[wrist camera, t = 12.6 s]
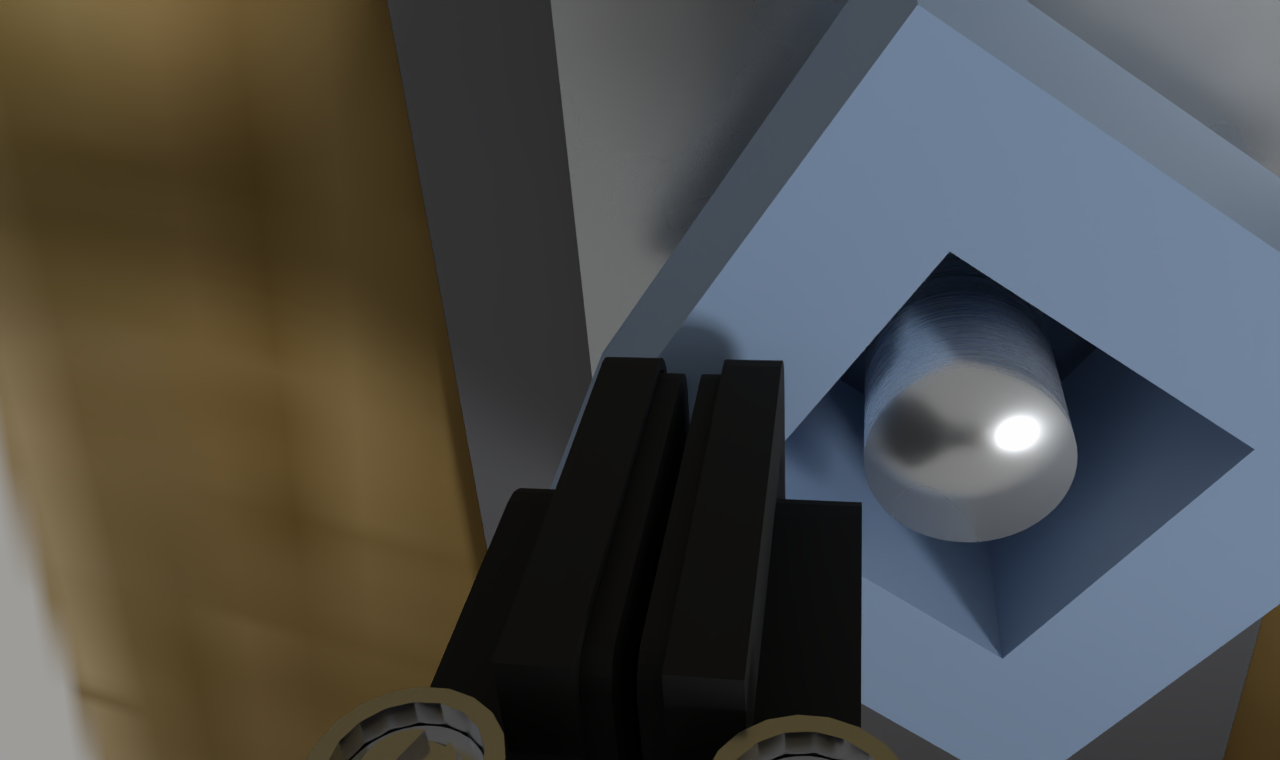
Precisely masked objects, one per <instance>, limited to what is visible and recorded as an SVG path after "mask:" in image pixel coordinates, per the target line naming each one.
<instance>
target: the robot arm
mask: <svg viewBox="0 0 1280 760" xmlns="http://www.w3.org/2000/svg"><path fill="white" fill-rule="evenodd" d="M861 636H862V502H844V501H820V500H796V499H785V388H784V363H783V360H737V359H726V360H724V364H723V368H722V373H721V374H702V375H701V378H700V382H699V386H698V391H697V395H696V400H695V404H694V408H693V413H692V417H691V422H690V420H689V403H688V388H687V379H686V375H685V374H684V373H667V369H666V364H665V361H664V359H663V358H642V357H605V358H604V360H603V362H602V364H601V367H600V370H599V372H598V375H597V378H596V381H595V383H594V386H593V389H592V391H591V394H590V397H589V400H588V402H587V405H586V408H585V410H584V413H583V416H582V419H581V421H580V424H579V427H578V429H577V432H576V435H575V437H574V440H573V443H572V446H571V448H570V451H569V454H568V456H567V459H566V462H565V465H564V467H563V470H562V473H561V475H560V478H559V481H558V484H557V486H556V489H535V488H519V489H517V490H516V491H514V492H513V494H512V496H511V497H510V499H509V501H508V503H507V505H506V507H505V510H504V512H503V515H502V517H501V519H500V522H499V524H498V527H497V529H496V531H495V534H494V536H493V538H492V541H491V543H490V546H489V548H488V550H487V553H486V555H485V557H484V560H483V562H482V565H481V567H480V569H479V572H478V574H477V577H476V579H475V581H474V584H473V586H472V588H471V591H470V593H469V596H468V598H467V600H466V603H465V605H464V608H463V610H462V612H461V615H460V617H459V619H458V622H457V624H456V627H455V629H454V631H453V634H452V636H451V639H450V641H449V643H448V646H447V648H446V650H445V653H444V655H443V658H442V660H441V662H440V665H439V667H438V669H437V672H436V674H435V677H434V679H433V681H432V684H431V686H430V687H417V688H411V689H405V690H399V691H393V692H390V693H387V694H385V695H382V696H380V697H377V698H375V699H372V700H370V701H367V702H365V703H362V704H361V705H359V706H358V707H357V708H355V709H354V710H352V711H351V712H349V713H348V714H346V715H345V716H343V717H342V718H340V719H339V720H337V721H336V722H335V724H334V725H333V726H332V727H331V728H330V729H329V730H328V731H327V732H326V734H325V735H324V736H323V737H322V738H321V739H320V740H319V741H318V742H317V744H316V745H315V747H314V748H313V749H312V751H311V752H310V754H309V755H308V757H307V758H306V760H899V759H898V758H897V756H896V755H895V754H894V753H893V752H892V751H891V750H890V748H889V747H888V746H887V745H886V744H885V743H883V742H882V741H880V740H878V739H877V738H875V737H874V736H872V735H871V734H869V733H868V732H866V731H864V730H863V729H861Z"/></svg>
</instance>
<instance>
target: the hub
mask: <svg viewBox="0 0 1280 760" xmlns="http://www.w3.org/2000/svg"><path fill="white" fill-rule="evenodd" d="M1026 1H1027V2H1029V3H1030V4H1032V5H1033V6H1035V7H1036V8H1037V9H1039V10H1040V11H1042V12H1043V13H1045V14H1046V15H1047V16H1049V17H1050V18H1052V19H1053V20H1055V21H1056V22H1058V23H1059V24H1060V25H1062V26H1063V27H1065V28H1066V29H1068V30H1069V31H1070V32H1072V33H1073V34H1075V35H1076V36H1078V37H1079V38H1080V39H1082V40H1083V41H1085V42H1086V43H1088V44H1089V45H1090V46H1092V47H1093V48H1095V49H1096V50H1098V51H1099V52H1100V53H1102V54H1103V55H1105V56H1106V57H1108V58H1109V59H1111V60H1112V61H1113V62H1115V63H1116V64H1118V65H1119V66H1121V67H1122V68H1123V69H1125V70H1126V71H1128V72H1129V73H1131V74H1132V75H1133V76H1135V77H1136V78H1138V79H1139V80H1141V81H1142V82H1143V83H1145V84H1146V85H1148V86H1149V87H1151V88H1152V89H1154V90H1155V91H1156V92H1158V93H1159V94H1161V95H1162V96H1164V97H1165V98H1166V99H1168V100H1169V101H1171V102H1172V103H1174V104H1175V105H1176V106H1178V107H1179V108H1181V109H1182V110H1184V111H1185V112H1186V113H1188V114H1189V115H1191V116H1192V117H1194V118H1195V119H1196V120H1198V121H1199V122H1201V123H1202V124H1204V125H1205V126H1207V127H1208V128H1209V129H1211V130H1212V131H1214V132H1215V133H1217V134H1218V135H1219V136H1221V137H1222V138H1224V139H1225V140H1227V141H1228V142H1229V143H1231V144H1232V145H1234V146H1235V147H1237V148H1238V149H1239V150H1241V151H1242V152H1244V153H1245V154H1247V155H1248V156H1250V157H1251V158H1252V159H1254V160H1255V161H1257V162H1258V163H1260V164H1261V165H1262V166H1264V167H1265V168H1267V169H1268V170H1270V171H1271V172H1272V173H1274V174H1275V175H1277V176H1278V177H1280V0H1026ZM847 2H848V0H551V9H552V18H553V27H554V36H555V45H556V54H557V63H558V72H559V81H560V90H561V99H562V109H563V118H564V127H565V136H566V145H567V154H568V163H569V172H570V181H571V190H572V199H573V208H574V217H575V226H576V236H577V245H578V254H579V263H580V272H581V281H582V290H583V299H584V308H585V317H586V326H587V335H588V344H589V353H590V363H591V372H592V378H593V376H594V373H595V371H596V368H597V365H598V363H599V360H600V358H601V355H602V353H603V351H604V350H605V348H606V347H607V345H608V344H609V343H610V341H611V340H612V338H613V337H614V335H615V334H616V333H617V331H618V330H619V328H620V327H621V325H622V324H623V323H624V321H625V320H626V318H627V317H628V315H629V314H630V313H631V311H632V310H633V308H634V307H635V305H636V304H637V303H638V301H639V300H640V298H641V297H642V295H643V294H644V292H645V291H646V290H647V288H648V287H649V285H650V284H651V282H652V281H653V280H654V278H655V277H656V275H657V274H658V272H659V271H660V270H661V268H662V267H663V265H664V264H665V262H666V261H667V260H668V258H669V257H670V255H671V254H672V252H673V251H674V250H675V248H676V247H677V245H678V244H679V242H680V241H681V239H682V238H683V237H684V235H685V234H686V232H687V231H688V229H689V228H690V227H691V225H692V224H693V222H694V221H695V219H696V218H697V217H698V215H699V214H700V212H701V211H702V209H703V208H704V207H705V205H706V204H707V202H708V201H709V199H710V198H711V197H712V195H713V194H714V192H715V191H716V189H717V188H718V187H719V185H720V184H721V182H722V181H723V179H724V178H725V176H726V175H727V174H728V172H729V171H730V169H731V168H732V166H733V165H734V164H735V162H736V161H737V159H738V158H739V156H740V155H741V154H742V152H743V151H744V149H745V148H746V146H747V145H748V144H749V142H750V141H751V139H752V138H753V136H754V135H755V134H756V132H757V131H758V129H759V128H760V126H761V125H762V123H763V122H764V121H765V119H766V118H767V116H768V115H769V113H770V112H771V111H772V109H773V108H774V106H775V105H776V103H777V102H778V101H779V99H780V98H781V96H782V95H783V93H784V92H785V91H786V89H787V88H788V86H789V85H790V83H791V82H792V81H793V79H794V78H795V76H796V75H797V73H798V72H799V70H800V69H801V68H802V66H803V65H804V63H805V62H806V60H807V59H808V58H809V56H810V55H811V53H812V52H813V50H814V49H815V48H816V46H817V45H818V43H819V42H820V40H821V39H822V38H823V36H824V35H825V33H826V32H827V30H828V29H829V28H830V26H831V25H832V23H833V22H834V20H835V19H836V17H837V16H838V15H839V13H840V12H841V10H842V9H843V7H844V6H845V5H846V3H847ZM1096 348H1097V347H1096V346H1095V345H1093V344H1092V343H1090V342H1088V341H1087V340H1085V339H1084V338H1082V337H1081V336H1079V335H1078V334H1076V333H1075V332H1073V331H1071V330H1070V329H1068V328H1067V327H1065V326H1064V325H1062V324H1061V323H1059V322H1058V321H1056V320H1055V319H1053V318H1051V317H1050V316H1048V315H1047V314H1045V313H1044V312H1042V311H1041V310H1039V309H1038V308H1036V307H1035V306H1033V305H1031V304H1030V303H1028V302H1027V301H1025V300H1024V299H1022V298H1021V297H1019V296H1018V295H1016V294H1014V293H1013V292H1011V291H1010V290H1008V289H1007V288H1005V287H1004V286H1002V285H1001V284H999V283H998V282H996V281H994V280H993V279H991V278H990V277H988V276H987V275H985V274H984V273H982V272H981V271H979V270H978V269H976V268H974V267H973V266H971V265H970V264H968V263H967V262H965V261H964V260H962V259H961V258H959V257H958V256H956V255H954V254H953V253H951V252H949V253H948V254H947V255H946V256H945V258H944V259H943V260H942V261H941V262H940V263H939V264H938V266H937V267H936V268H935V269H934V270H933V271H932V272H931V274H930V275H929V276H928V277H927V278H926V279H925V281H924V282H923V283H922V284H921V285H920V286H919V287H918V289H917V290H916V291H915V292H914V293H913V294H912V296H911V297H910V298H909V299H908V300H907V301H906V302H905V304H904V305H903V306H902V307H901V308H900V309H899V310H898V312H897V313H896V314H895V315H894V316H893V317H892V319H891V320H890V321H889V322H888V323H887V324H886V325H885V327H884V328H883V329H882V330H881V331H880V332H879V333H878V335H877V336H876V337H875V338H874V339H873V340H872V342H871V343H870V344H869V345H868V346H867V347H866V348H865V350H864V351H863V352H862V353H861V354H860V355H859V356H858V358H857V359H856V360H855V361H854V362H853V363H852V365H851V366H850V367H849V368H848V369H847V370H846V371H845V373H844V374H843V375H842V376H841V377H840V378H839V380H841V381H843V382H844V383H846V384H847V385H849V386H851V387H852V388H854V389H856V390H857V391H859V392H860V393H862V394H864V470H865V474H866V479H867V482H868V484H869V487H870V490H871V491H872V493H873V495H874V497H875V498H876V500H877V501H878V502H879V504H880V505H881V506H882V507H883V509H884V510H885V511H886V512H888V513H889V514H890V515H891V516H892V517H893V518H894V519H896V520H897V521H898V522H900V523H901V524H903V525H905V526H906V527H908V528H910V529H912V530H914V531H916V532H918V533H921V534H923V535H926V536H930V537H933V538H936V539H941V540H946V541H954V542H982V541H990V540H995V539H1000V538H1004V537H1007V536H1010V535H1013V534H1016V533H1018V532H1021V531H1023V530H1025V529H1027V528H1029V527H1031V526H1032V525H1034V524H1036V523H1038V522H1039V521H1040V520H1042V519H1043V518H1044V517H1046V516H1047V515H1048V514H1049V513H1050V512H1051V511H1053V510H1054V509H1055V508H1056V507H1057V505H1058V504H1059V503H1060V502H1061V501H1062V499H1063V498H1064V497H1065V495H1066V493H1067V492H1068V490H1069V488H1070V486H1071V484H1072V481H1073V479H1074V476H1075V472H1076V468H1077V456H1078V454H1077V445H1076V440H1075V436H1074V433H1073V429H1072V425H1071V421H1070V417H1069V413H1068V409H1067V405H1066V401H1065V398H1064V394H1063V390H1062V386H1061V382H1062V381H1063V380H1064V379H1065V378H1066V377H1067V376H1068V375H1069V374H1070V373H1071V372H1072V371H1073V370H1075V369H1076V368H1077V367H1078V366H1079V365H1080V364H1081V363H1082V362H1083V361H1084V360H1085V359H1086V358H1087V357H1088V356H1089V355H1090V354H1091V353H1092V352H1093V351H1094V350H1095V349H1096Z"/></svg>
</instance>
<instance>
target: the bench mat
mask: <svg viewBox="0 0 1280 760" xmlns="http://www.w3.org/2000/svg"><path fill="white" fill-rule="evenodd" d="M387 2H388V7H389V13H390V18H391V24H392V29H393V35H394V40H395V46H396V51H397V56H398V62H399V67H400V73H401V78H402V84H403V89H404V95H405V100H406V106H407V111H408V117H409V122H410V128H411V133H412V139H413V144H414V150H415V155H416V161H417V166H418V172H419V177H420V183H421V188H422V194H423V199H424V205H425V210H426V216H427V221H428V227H429V232H430V238H431V243H432V249H433V254H434V260H435V265H436V271H437V276H438V282H439V287H440V293H441V298H442V304H443V309H444V315H445V320H446V325H447V331H448V336H449V342H450V347H451V353H452V358H453V364H454V369H455V375H456V380H457V386H458V391H459V397H460V402H461V408H462V413H463V419H464V424H465V430H466V435H467V441H468V446H469V452H470V457H471V463H472V468H473V474H474V479H475V485H476V490H477V496H478V501H479V507H480V512H481V518H482V523H483V529H484V534H485V540H486V545H487V550H488V548H489V546H490V543H491V541H492V538H493V536H494V534H495V531H496V529H497V527H498V524H499V522H500V519H501V517H502V515H503V512H504V510H505V507H506V505H507V503H508V501H509V499H510V497H511V496H512V494H513V492H514V491H516V490H517V489H519V488H535V489H550V488H551V485H552V483H553V480H554V477H555V475H556V472H557V470H558V467H559V464H560V462H561V459H562V457H563V454H564V451H565V449H566V446H567V444H568V441H569V438H570V436H571V433H572V431H573V428H574V425H575V423H576V420H577V418H578V415H579V412H580V410H581V407H582V404H583V402H584V399H585V397H586V394H587V391H588V389H589V386H590V384H591V381H592V372H591V363H590V353H589V344H588V335H587V326H586V317H585V308H584V299H583V290H582V281H581V272H580V263H579V254H578V245H577V236H576V226H575V217H574V208H573V199H572V190H571V181H570V172H569V163H568V154H567V145H566V136H565V127H564V118H563V109H562V99H561V90H560V81H559V72H558V63H557V54H556V45H555V36H554V27H553V18H552V9H551V0H387ZM1262 618H1263V617H1261V618H1260V619H1258V620H1257V621H1256V622H1254V623H1253V624H1252V625H1250V626H1249V627H1247V628H1246V629H1245V630H1243V631H1242V632H1241V633H1239V634H1238V635H1236V636H1235V637H1234V638H1232V639H1231V640H1230V641H1228V642H1227V643H1226V644H1224V645H1223V646H1221V647H1220V648H1219V649H1217V650H1216V651H1215V652H1213V653H1212V654H1210V655H1209V656H1208V657H1206V658H1205V659H1204V660H1202V661H1201V662H1199V663H1198V664H1197V665H1195V666H1194V667H1193V668H1191V669H1190V670H1188V671H1187V672H1186V673H1184V674H1183V675H1182V676H1180V677H1179V678H1178V679H1176V680H1175V681H1173V682H1172V683H1171V684H1169V685H1168V686H1167V687H1165V688H1164V689H1162V690H1161V691H1160V692H1158V693H1157V694H1156V695H1154V696H1153V697H1151V698H1150V699H1149V700H1147V701H1146V702H1145V703H1143V704H1142V705H1140V706H1139V707H1138V708H1136V709H1135V710H1134V711H1132V712H1131V713H1129V714H1128V715H1127V716H1125V717H1124V718H1123V719H1121V720H1120V721H1119V722H1117V723H1116V724H1114V725H1113V726H1112V727H1110V728H1109V729H1108V730H1106V731H1105V732H1103V733H1102V734H1101V735H1099V736H1098V737H1097V738H1095V739H1094V740H1092V741H1091V742H1090V743H1088V744H1087V745H1086V746H1084V747H1083V748H1081V749H1080V750H1079V751H1077V752H1076V753H1075V754H1073V755H1072V756H1071V757H1069V758H1068V759H1066V760H1223V758H1224V754H1225V751H1226V747H1227V743H1228V740H1229V736H1230V733H1231V729H1232V726H1233V722H1234V718H1235V715H1236V711H1237V708H1238V704H1239V700H1240V697H1241V693H1242V690H1243V686H1244V683H1245V679H1246V675H1247V672H1248V668H1249V665H1250V661H1251V658H1252V654H1253V650H1254V647H1255V643H1256V640H1257V636H1258V632H1259V629H1260V625H1261V622H1262ZM861 729H863V730H864V731H866V732H868V733H869V734H871V735H872V736H874V737H875V738H877V739H878V740H880V741H882V742H883V743H885V744H886V745H887V746H888V747H889V748H890V750H891V751H892V752H893V753H894V754H895V755H896V756H897V758H898V759H899V760H960V759H958V758H957V757H955V756H953V755H951V754H950V753H948V752H946V751H944V750H943V749H941V748H939V747H937V746H936V745H934V744H932V743H930V742H929V741H927V740H925V739H923V738H921V737H920V736H918V735H916V734H914V733H913V732H911V731H909V730H907V729H906V728H904V727H902V726H900V725H899V724H897V723H895V722H893V721H892V720H890V719H888V718H886V717H885V716H883V715H881V714H879V713H878V712H876V711H874V710H872V709H871V708H869V707H867V706H865V705H863V704H862V703H861Z"/></svg>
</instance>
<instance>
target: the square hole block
mask: <svg viewBox="0 0 1280 760" xmlns="http://www.w3.org/2000/svg"><path fill="white" fill-rule="evenodd" d="M949 252H951V253H953V254H954V255H956V256H958V257H959V258H961V259H962V260H964V261H965V262H967V263H968V264H970V265H971V266H973V267H974V268H976V269H978V270H979V271H981V272H982V273H984V274H985V275H987V276H988V277H990V278H991V279H993V280H994V281H996V282H998V283H999V284H1001V285H1002V286H1004V287H1005V288H1007V289H1008V290H1010V291H1011V292H1013V293H1014V294H1016V295H1018V296H1019V297H1021V298H1022V299H1024V300H1025V301H1027V302H1028V303H1030V304H1031V305H1033V306H1035V307H1036V308H1038V309H1039V310H1041V311H1042V312H1044V313H1045V314H1047V315H1048V316H1050V317H1051V318H1053V319H1055V320H1056V321H1058V322H1059V323H1061V324H1062V325H1064V326H1065V327H1067V328H1068V329H1070V330H1071V331H1073V332H1075V333H1076V334H1078V335H1079V336H1081V337H1082V338H1084V339H1085V340H1087V341H1088V342H1090V343H1092V344H1093V345H1095V346H1096V347H1097V348H1096V349H1095V350H1094V351H1093V352H1092V353H1091V354H1090V355H1089V356H1088V357H1087V358H1086V359H1085V360H1084V361H1083V362H1082V363H1081V364H1080V365H1079V366H1078V367H1077V368H1076V369H1075V370H1073V371H1072V372H1071V373H1070V374H1069V375H1068V376H1067V377H1066V378H1065V379H1064V380H1063V381H1062V382H1061V386H1062V390H1063V394H1064V398H1065V401H1066V405H1067V409H1068V413H1069V417H1070V421H1071V425H1072V429H1073V433H1074V436H1075V440H1076V445H1077V454H1078V456H1077V468H1076V472H1075V476H1074V479H1073V481H1072V484H1071V486H1070V488H1069V490H1068V492H1067V493H1066V495H1065V497H1064V498H1063V499H1062V501H1061V502H1060V503H1059V504H1058V505H1057V507H1056V508H1055V509H1054V510H1053V511H1051V512H1050V513H1049V514H1048V515H1047V516H1046V517H1044V518H1043V519H1042V520H1040V521H1039V522H1038V523H1036V524H1034V525H1032V526H1031V527H1029V528H1027V529H1025V530H1023V531H1021V532H1018V533H1016V534H1013V535H1010V536H1007V537H1004V538H1000V539H995V540H990V541H982V542H954V541H946V540H941V539H936V538H933V537H930V536H926V535H923V534H921V533H918V532H916V531H914V530H912V529H910V528H908V527H906V526H905V525H903V524H901V523H900V522H898V521H897V520H896V519H894V518H893V517H892V516H891V515H890V514H889V513H888V512H886V511H885V510H884V509H883V507H882V506H881V505H880V504H879V502H878V501H877V500H876V498H875V497H874V495H873V493H872V491H871V490H870V487H869V484H868V482H867V479H866V474H865V470H864V394H862V393H860V392H859V391H857V390H856V389H854V388H852V387H851V386H849V385H847V384H846V383H844V382H843V381H841V380H839V378H840V377H841V376H842V375H843V374H844V373H845V371H846V370H847V369H848V368H849V367H850V366H851V365H852V363H853V362H854V361H855V360H856V359H857V358H858V356H859V355H860V354H861V353H862V352H863V351H864V350H865V348H866V347H867V346H868V345H869V344H870V343H871V342H872V340H873V339H874V338H875V337H876V336H877V335H878V333H879V332H880V331H881V330H882V329H883V328H884V327H885V325H886V324H887V323H888V322H889V321H890V320H891V319H892V317H893V316H894V315H895V314H896V313H897V312H898V310H899V309H900V308H901V307H902V306H903V305H904V304H905V302H906V301H907V300H908V299H909V298H910V297H911V296H912V294H913V293H914V292H915V291H916V290H917V289H918V287H919V286H920V285H921V284H922V283H923V282H924V281H925V279H926V278H927V277H928V276H929V275H930V274H931V272H932V271H933V270H934V269H935V268H936V267H937V266H938V264H939V263H940V262H941V261H942V260H943V259H944V258H945V256H946V255H947V254H948V253H949ZM605 357H642V358H663V359H664V361H665V364H666V369H667V373H684V374H685V375H686V379H687V388H688V403H689V420H690V422H691V417H692V413H693V408H694V404H695V400H696V395H697V391H698V386H699V382H700V378H701V375H702V374H721V373H722V368H723V364H724V360H726V359H737V360H783V363H784V388H785V499H796V500H820V501H844V502H862V636H861V703H862V704H863V705H865V706H867V707H869V708H871V709H872V710H874V711H876V712H878V713H879V714H881V715H883V716H885V717H886V718H888V719H890V720H892V721H893V722H895V723H897V724H899V725H900V726H902V727H904V728H906V729H907V730H909V731H911V732H913V733H914V734H916V735H918V736H920V737H921V738H923V739H925V740H927V741H929V742H930V743H932V744H934V745H936V746H937V747H939V748H941V749H943V750H944V751H946V752H948V753H950V754H951V755H953V756H955V757H957V758H958V759H960V760H1066V759H1068V758H1069V757H1071V756H1072V755H1073V754H1075V753H1076V752H1077V751H1079V750H1080V749H1081V748H1083V747H1084V746H1086V745H1087V744H1088V743H1090V742H1091V741H1092V740H1094V739H1095V738H1097V737H1098V736H1099V735H1101V734H1102V733H1103V732H1105V731H1106V730H1108V729H1109V728H1110V727H1112V726H1113V725H1114V724H1116V723H1117V722H1119V721H1120V720H1121V719H1123V718H1124V717H1125V716H1127V715H1128V714H1129V713H1131V712H1132V711H1134V710H1135V709H1136V708H1138V707H1139V706H1140V705H1142V704H1143V703H1145V702H1146V701H1147V700H1149V699H1150V698H1151V697H1153V696H1154V695H1156V694H1157V693H1158V692H1160V691H1161V690H1162V689H1164V688H1165V687H1167V686H1168V685H1169V684H1171V683H1172V682H1173V681H1175V680H1176V679H1178V678H1179V677H1180V676H1182V675H1183V674H1184V673H1186V672H1187V671H1188V670H1190V669H1191V668H1193V667H1194V666H1195V665H1197V664H1198V663H1199V662H1201V661H1202V660H1204V659H1205V658H1206V657H1208V656H1209V655H1210V654H1212V653H1213V652H1215V651H1216V650H1217V649H1219V648H1220V647H1221V646H1223V645H1224V644H1226V643H1227V642H1228V641H1230V640H1231V639H1232V638H1234V637H1235V636H1236V635H1238V634H1239V633H1241V632H1242V631H1243V630H1245V629H1246V628H1247V627H1249V626H1250V625H1252V624H1253V623H1254V622H1256V621H1257V620H1258V619H1260V618H1261V617H1263V616H1264V615H1265V614H1267V613H1268V612H1269V611H1271V610H1272V609H1274V608H1275V607H1276V606H1278V605H1279V604H1280V177H1278V176H1277V175H1275V174H1274V173H1272V172H1271V171H1270V170H1268V169H1267V168H1265V167H1264V166H1262V165H1261V164H1260V163H1258V162H1257V161H1255V160H1254V159H1252V158H1251V157H1250V156H1248V155H1247V154H1245V153H1244V152H1242V151H1241V150H1239V149H1238V148H1237V147H1235V146H1234V145H1232V144H1231V143H1229V142H1228V141H1227V140H1225V139H1224V138H1222V137H1221V136H1219V135H1218V134H1217V133H1215V132H1214V131H1212V130H1211V129H1209V128H1208V127H1207V126H1205V125H1204V124H1202V123H1201V122H1199V121H1198V120H1196V119H1195V118H1194V117H1192V116H1191V115H1189V114H1188V113H1186V112H1185V111H1184V110H1182V109H1181V108H1179V107H1178V106H1176V105H1175V104H1174V103H1172V102H1171V101H1169V100H1168V99H1166V98H1165V97H1164V96H1162V95H1161V94H1159V93H1158V92H1156V91H1155V90H1154V89H1152V88H1151V87H1149V86H1148V85H1146V84H1145V83H1143V82H1142V81H1141V80H1139V79H1138V78H1136V77H1135V76H1133V75H1132V74H1131V73H1129V72H1128V71H1126V70H1125V69H1123V68H1122V67H1121V66H1119V65H1118V64H1116V63H1115V62H1113V61H1112V60H1111V59H1109V58H1108V57H1106V56H1105V55H1103V54H1102V53H1100V52H1099V51H1098V50H1096V49H1095V48H1093V47H1092V46H1090V45H1089V44H1088V43H1086V42H1085V41H1083V40H1082V39H1080V38H1079V37H1078V36H1076V35H1075V34H1073V33H1072V32H1070V31H1069V30H1068V29H1066V28H1065V27H1063V26H1062V25H1060V24H1059V23H1058V22H1056V21H1055V20H1053V19H1052V18H1050V17H1049V16H1047V15H1046V14H1045V13H1043V12H1042V11H1040V10H1039V9H1037V8H1036V7H1035V6H1033V5H1032V4H1030V3H1029V2H1027V1H1026V0H848V2H847V3H846V5H845V6H844V7H843V9H842V10H841V12H840V13H839V15H838V16H837V17H836V19H835V20H834V22H833V23H832V25H831V26H830V28H829V29H828V30H827V32H826V33H825V35H824V36H823V38H822V39H821V40H820V42H819V43H818V45H817V46H816V48H815V49H814V50H813V52H812V53H811V55H810V56H809V58H808V59H807V60H806V62H805V63H804V65H803V66H802V68H801V69H800V70H799V72H798V73H797V75H796V76H795V78H794V79H793V81H792V82H791V83H790V85H789V86H788V88H787V89H786V91H785V92H784V93H783V95H782V96H781V98H780V99H779V101H778V102H777V103H776V105H775V106H774V108H773V109H772V111H771V112H770V113H769V115H768V116H767V118H766V119H765V121H764V122H763V123H762V125H761V126H760V128H759V129H758V131H757V132H756V134H755V135H754V136H753V138H752V139H751V141H750V142H749V144H748V145H747V146H746V148H745V149H744V151H743V152H742V154H741V155H740V156H739V158H738V159H737V161H736V162H735V164H734V165H733V166H732V168H731V169H730V171H729V172H728V174H727V175H726V176H725V178H724V179H723V181H722V182H721V184H720V185H719V187H718V188H717V189H716V191H715V192H714V194H713V195H712V197H711V198H710V199H709V201H708V202H707V204H706V205H705V207H704V208H703V209H702V211H701V212H700V214H699V215H698V217H697V218H696V219H695V221H694V222H693V224H692V225H691V227H690V228H689V229H688V231H687V232H686V234H685V235H684V237H683V238H682V239H681V241H680V242H679V244H678V245H677V247H676V248H675V250H674V251H673V252H672V254H671V255H670V257H669V258H668V260H667V261H666V262H665V264H664V265H663V267H662V268H661V270H660V271H659V272H658V274H657V275H656V277H655V278H654V280H653V281H652V282H651V284H650V285H649V287H648V288H647V290H646V291H645V292H644V294H643V295H642V297H641V298H640V300H639V301H638V303H637V304H636V305H635V307H634V308H633V310H632V311H631V313H630V314H629V315H628V317H627V318H626V320H625V321H624V323H623V324H622V325H621V327H620V328H619V330H618V331H617V333H616V334H615V335H614V337H613V338H612V340H611V341H610V343H609V344H608V345H607V347H606V348H605V350H604V351H603V353H602V355H601V358H600V360H599V363H598V365H597V368H596V371H595V373H594V376H593V378H592V381H591V384H590V386H589V389H588V391H587V394H586V397H585V399H584V402H583V404H582V407H581V410H580V412H579V415H578V418H577V420H576V423H575V425H574V428H573V431H572V433H571V436H570V438H569V441H568V444H567V446H566V449H565V451H564V454H563V457H562V459H561V462H560V464H559V467H558V470H557V472H556V475H555V477H554V480H553V483H552V485H551V488H550V489H556V486H557V484H558V481H559V478H560V475H561V473H562V470H563V467H564V465H565V462H566V459H567V456H568V454H569V451H570V448H571V446H572V443H573V440H574V437H575V435H576V432H577V429H578V427H579V424H580V421H581V419H582V416H583V413H584V410H585V408H586V405H587V402H588V400H589V397H590V394H591V391H592V389H593V386H594V383H595V381H596V378H597V375H598V372H599V370H600V367H601V364H602V362H603V360H604V358H605Z"/></svg>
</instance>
